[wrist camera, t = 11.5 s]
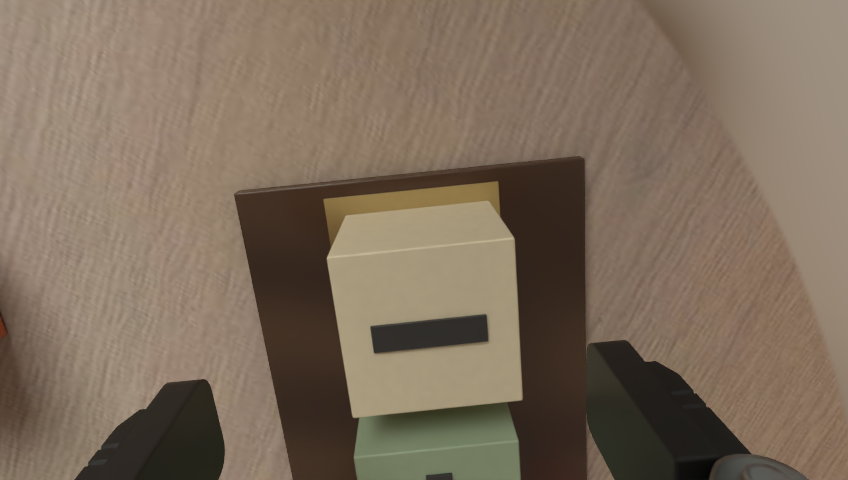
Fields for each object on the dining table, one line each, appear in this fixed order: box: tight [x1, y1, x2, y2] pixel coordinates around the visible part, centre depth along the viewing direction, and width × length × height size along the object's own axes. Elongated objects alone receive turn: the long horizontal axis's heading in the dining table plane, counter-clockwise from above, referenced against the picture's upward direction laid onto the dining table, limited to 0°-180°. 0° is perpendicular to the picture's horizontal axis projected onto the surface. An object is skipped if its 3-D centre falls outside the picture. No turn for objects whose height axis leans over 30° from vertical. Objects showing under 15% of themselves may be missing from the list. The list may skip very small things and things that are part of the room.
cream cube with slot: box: [327, 201, 523, 418], centre depth 17 cm, size 5×5×5 cm
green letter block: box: [354, 402, 521, 480], centre depth 19 cm, size 5×5×5 cm
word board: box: [234, 156, 587, 480], centre depth 21 cm, size 20×12×1 cm, turn 6°
